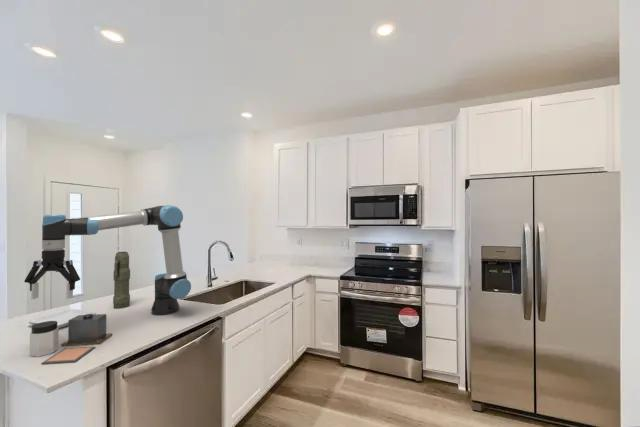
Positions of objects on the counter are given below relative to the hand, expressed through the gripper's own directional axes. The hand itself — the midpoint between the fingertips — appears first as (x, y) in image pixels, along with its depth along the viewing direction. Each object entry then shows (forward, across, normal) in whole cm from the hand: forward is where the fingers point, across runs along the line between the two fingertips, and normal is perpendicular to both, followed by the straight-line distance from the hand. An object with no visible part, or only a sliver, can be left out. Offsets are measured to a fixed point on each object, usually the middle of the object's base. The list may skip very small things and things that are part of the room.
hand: (52, 298), depth 128 cm
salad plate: (+23, -18, +36) cm, 46 cm away
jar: (+23, -1, -2) cm, 23 cm away
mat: (+22, +12, -7) cm, 26 cm away
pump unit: (+22, +10, +8) cm, 26 cm away
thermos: (+22, -1, +61) cm, 65 cm away
